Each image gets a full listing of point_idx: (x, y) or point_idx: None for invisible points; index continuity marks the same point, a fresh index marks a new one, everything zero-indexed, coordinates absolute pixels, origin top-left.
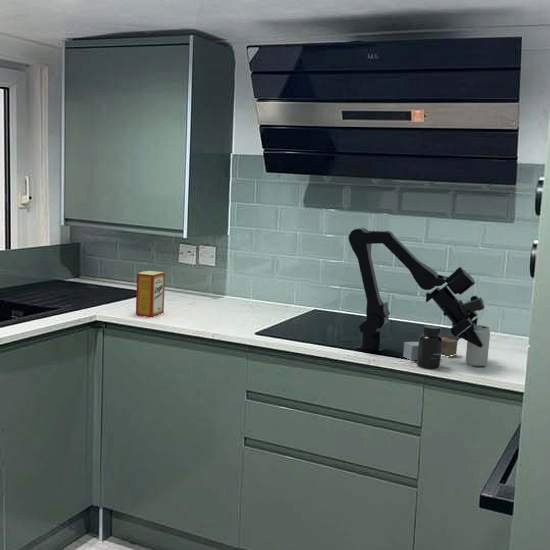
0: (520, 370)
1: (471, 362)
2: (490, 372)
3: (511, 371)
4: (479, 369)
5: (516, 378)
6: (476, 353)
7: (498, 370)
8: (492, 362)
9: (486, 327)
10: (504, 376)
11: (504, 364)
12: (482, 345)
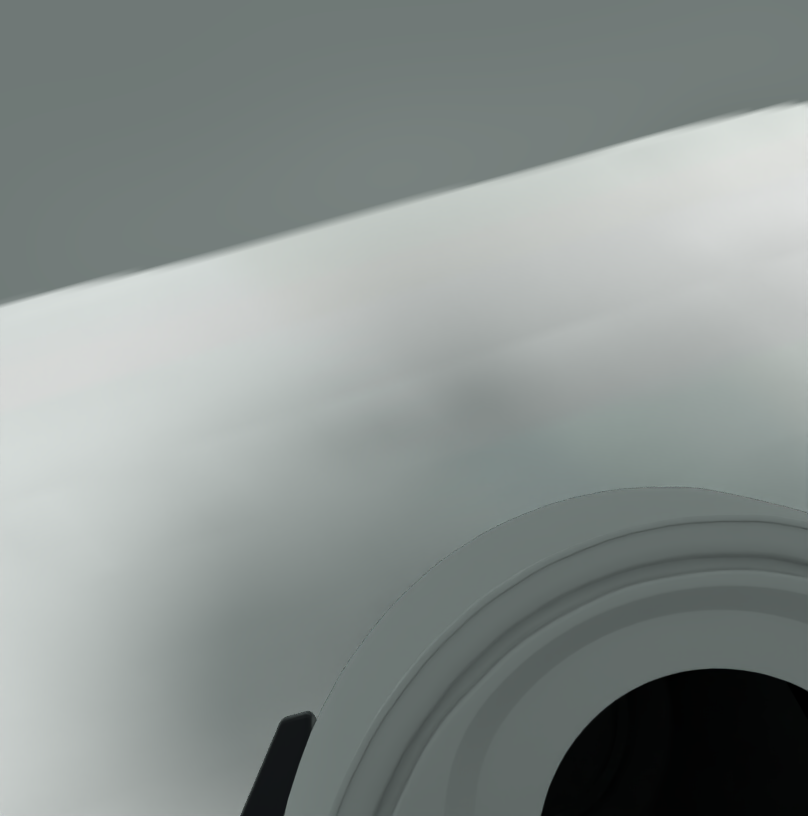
0: (343, 219)
1: (681, 734)
2: (716, 429)
3: (466, 273)
4: None
5: (708, 153)
6: (737, 686)
7: (544, 391)
8: (206, 580)
9: (563, 684)
10: (743, 260)
11: (199, 432)
12: None
